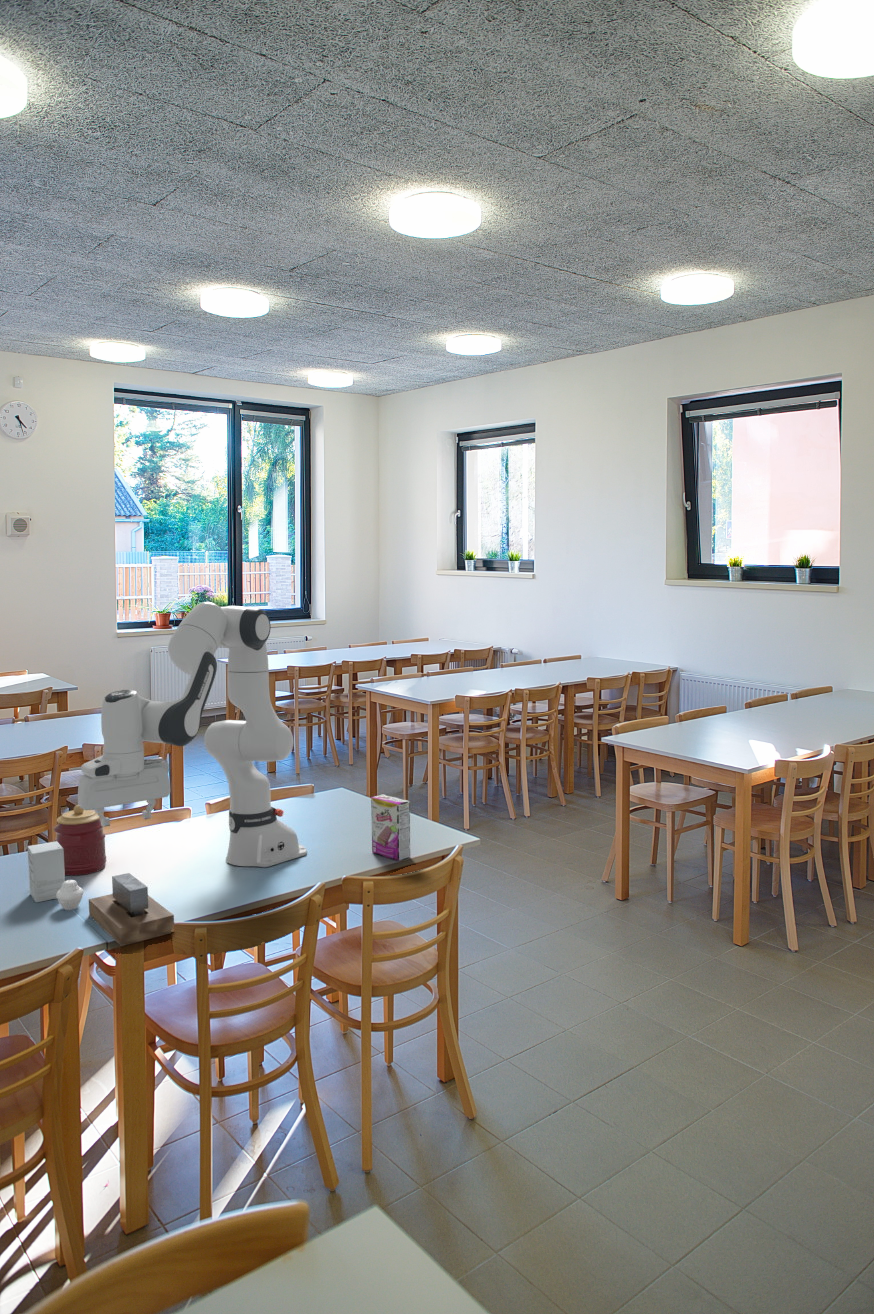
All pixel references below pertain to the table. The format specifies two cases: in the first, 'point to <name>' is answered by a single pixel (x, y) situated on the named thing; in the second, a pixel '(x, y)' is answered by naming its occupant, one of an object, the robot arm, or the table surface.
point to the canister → (81, 841)
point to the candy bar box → (390, 827)
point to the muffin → (69, 895)
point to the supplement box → (45, 870)
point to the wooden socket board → (130, 920)
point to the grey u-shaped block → (130, 893)
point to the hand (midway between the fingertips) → (126, 822)
